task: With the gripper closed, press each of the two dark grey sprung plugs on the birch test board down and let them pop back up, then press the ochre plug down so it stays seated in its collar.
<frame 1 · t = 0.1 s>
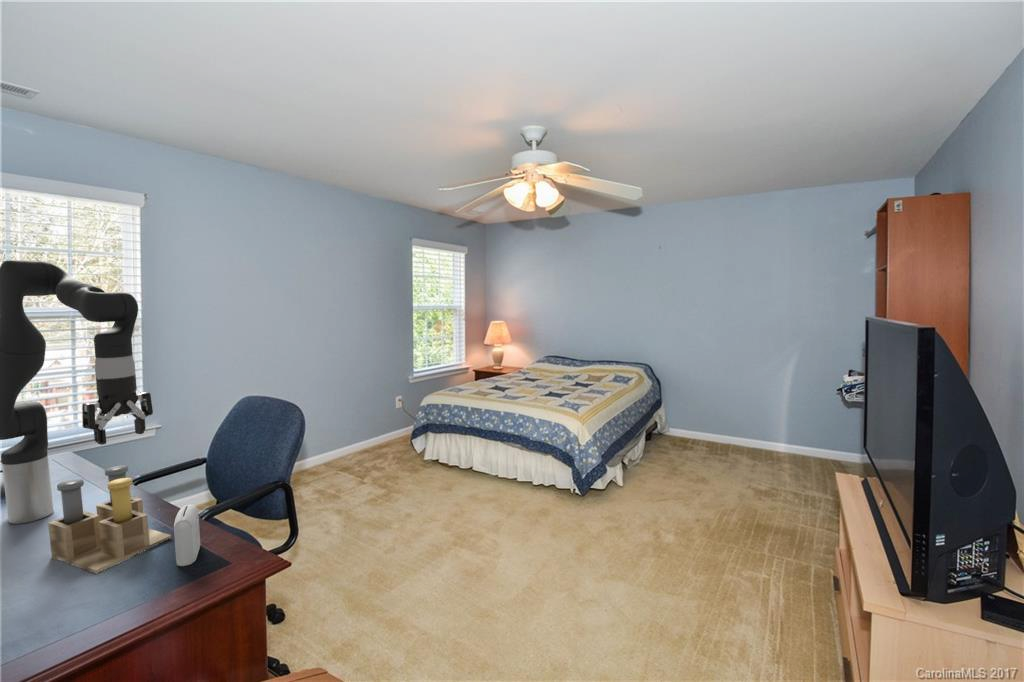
hand: (121, 438, 118), 29 cm above the table, tool pointing down, fingers open, 8 cm apart
grey plug 2: (72, 502, 118), point 13 cm above the table, slide at 0.1 cm
test board: (113, 547, 122), on the table
ochre plug: (121, 500, 119), point 14 cm above the table, slide at 0.0 cm
grey plug 1: (118, 486, 127), point 13 cm above the table, slide at 0.1 cm
photo printer: (189, 556, 119), on the table
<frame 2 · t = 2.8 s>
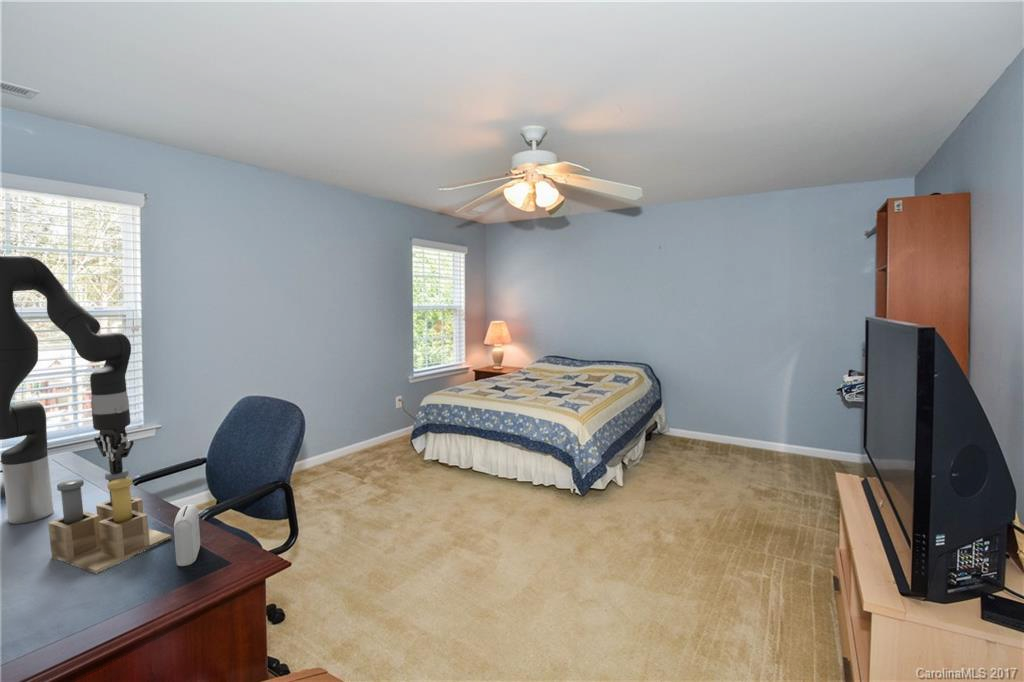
hand: (116, 472, 127), 17 cm above the table, tool pointing down, fingers closed
grey plug 1: (118, 490, 127), point 12 cm above the table, slide at 1.3 cm, touching gripper
everything else where it was.
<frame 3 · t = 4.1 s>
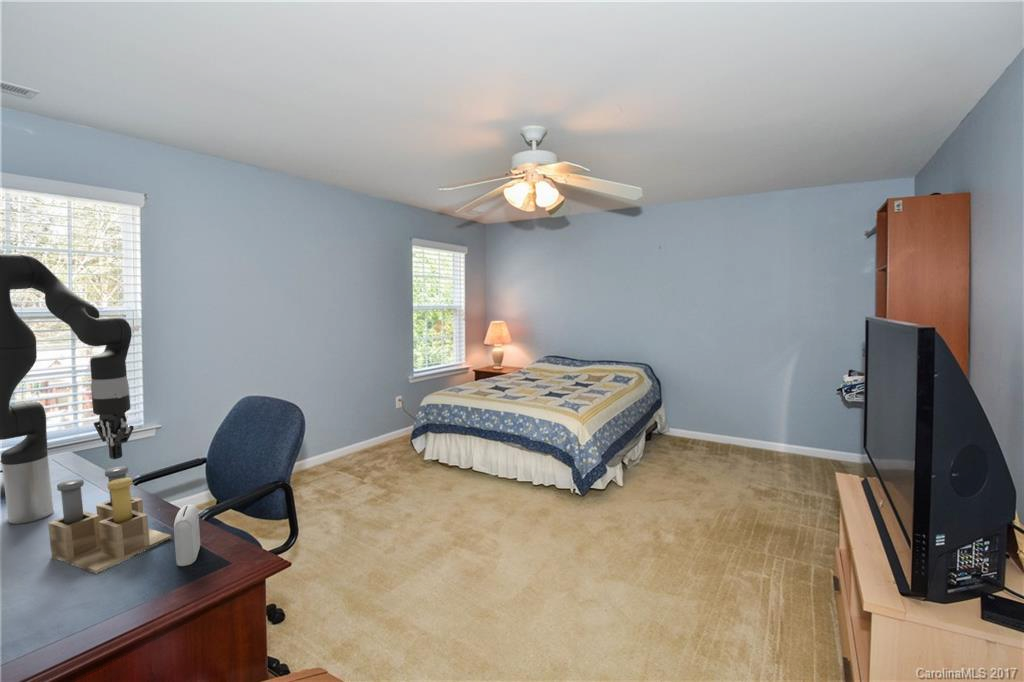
hand: (116, 458, 126), 21 cm above the table, tool pointing down, fingers closed
grey plug 1: (118, 487, 127), point 13 cm above the table, slide at 0.4 cm
everything else where it was.
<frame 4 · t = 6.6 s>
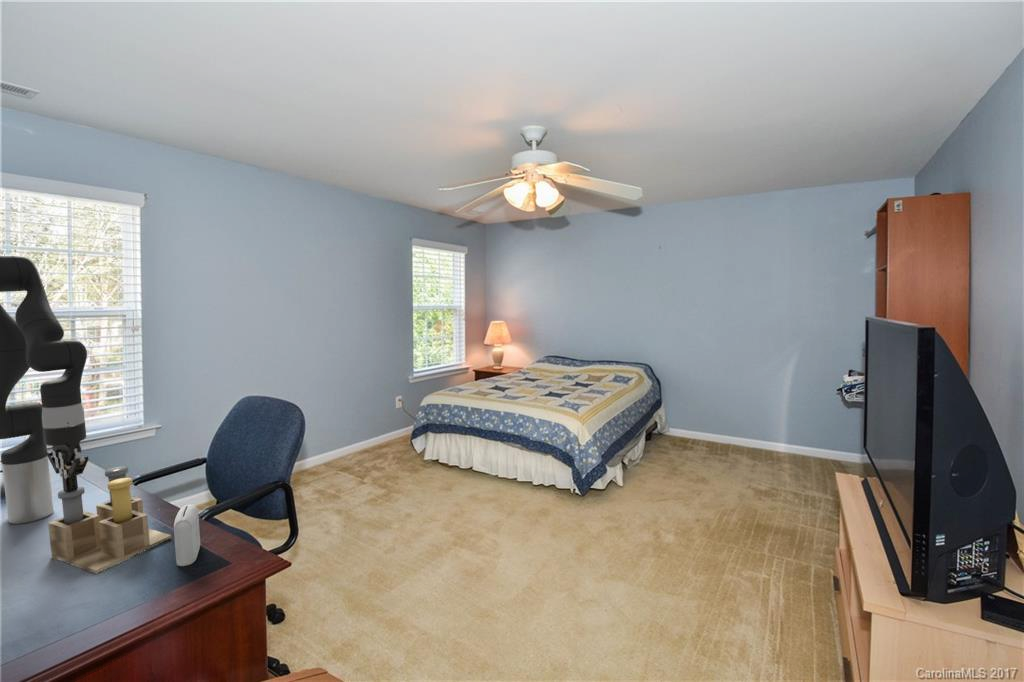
hand: (71, 490, 118), 16 cm above the table, tool pointing down, fingers closed
grey plug 2: (73, 510, 118), point 11 cm above the table, slide at 2.2 cm, touching gripper
everything else where it was.
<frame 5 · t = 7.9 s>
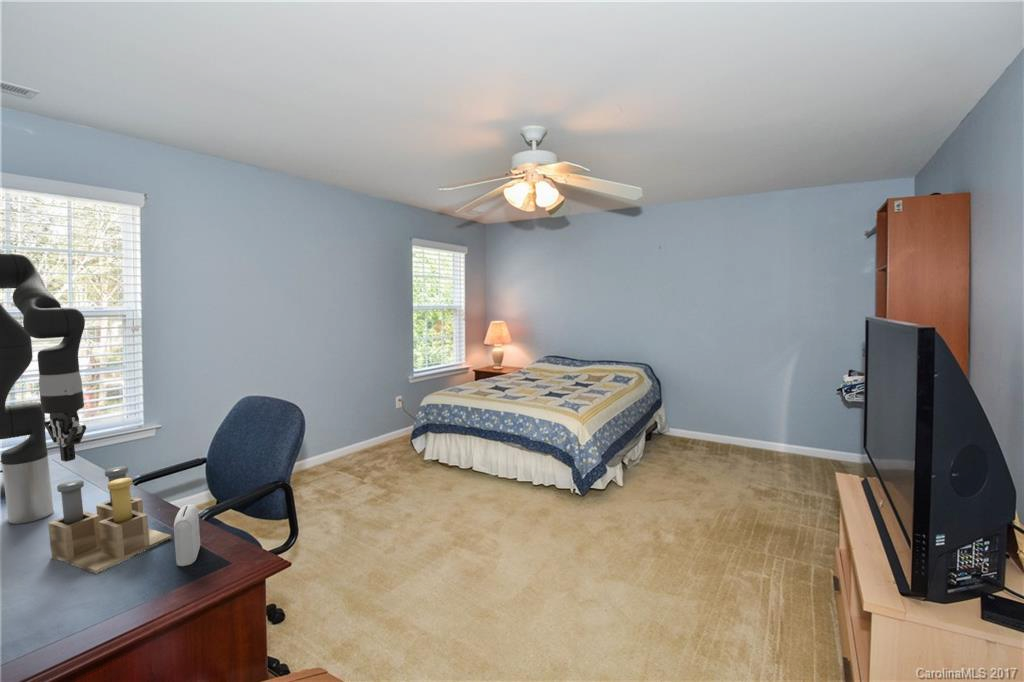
hand: (68, 460, 117), 24 cm above the table, tool pointing down, fingers closed
grey plug 2: (72, 503, 118), point 13 cm above the table, slide at 0.4 cm
everything else where it was.
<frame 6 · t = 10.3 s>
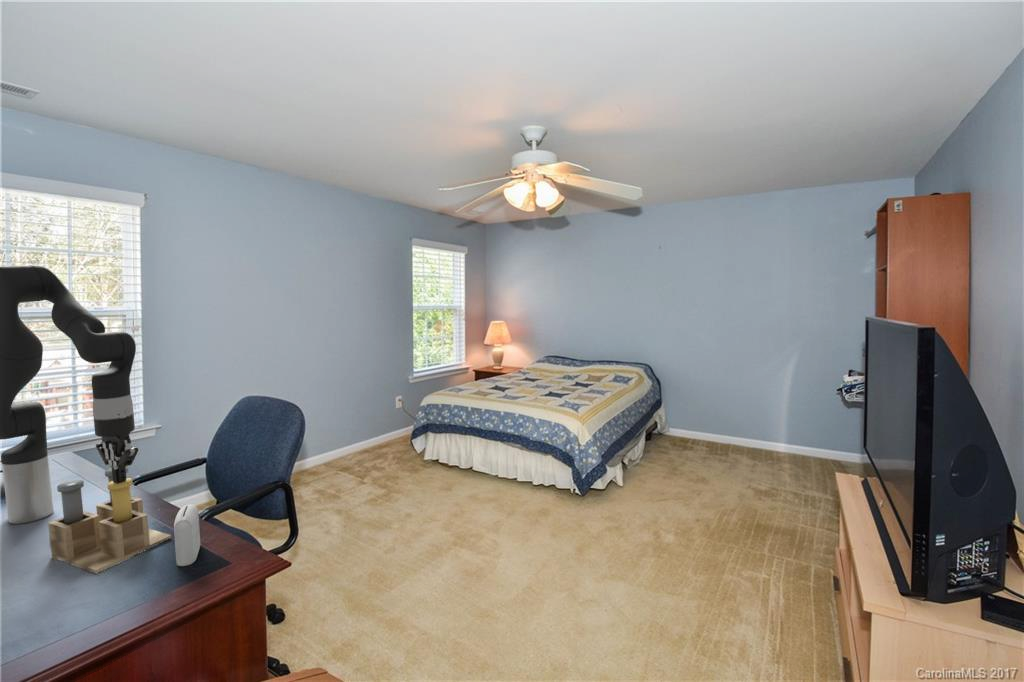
hand: (119, 482, 118), 18 cm above the table, tool pointing down, fingers closed
ochre plug: (121, 501, 119), point 13 cm above the table, slide at 0.1 cm, touching gripper
everything else where it was.
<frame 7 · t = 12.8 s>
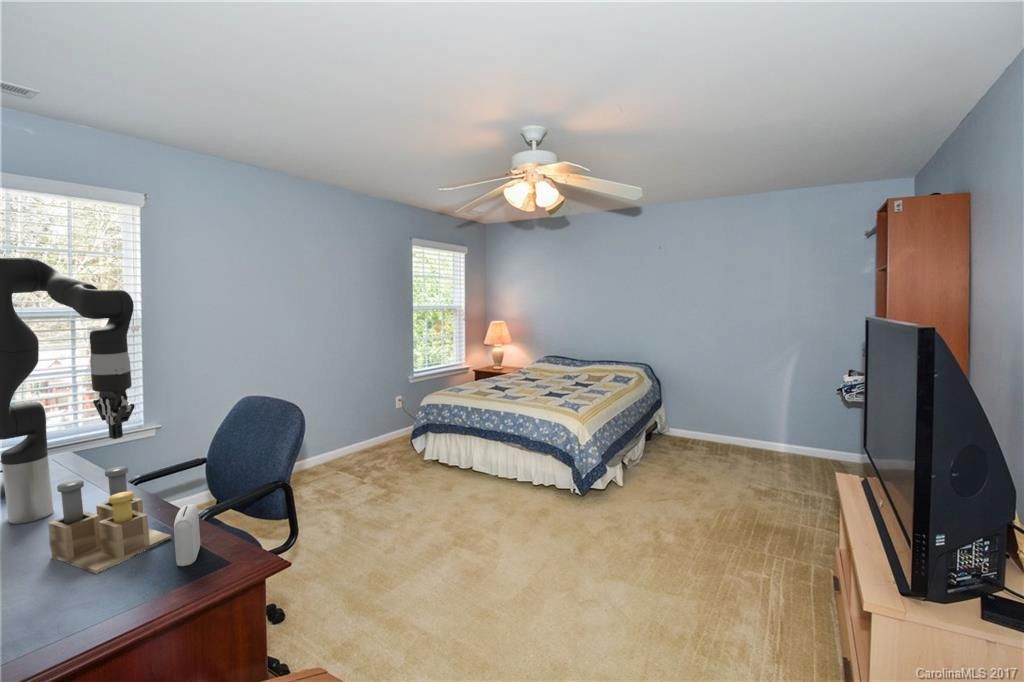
hand: (116, 437, 120), 29 cm above the table, tool pointing down, fingers closed
ochre plug: (122, 514, 119), point 10 cm above the table, slide at 3.6 cm
everything else where it was.
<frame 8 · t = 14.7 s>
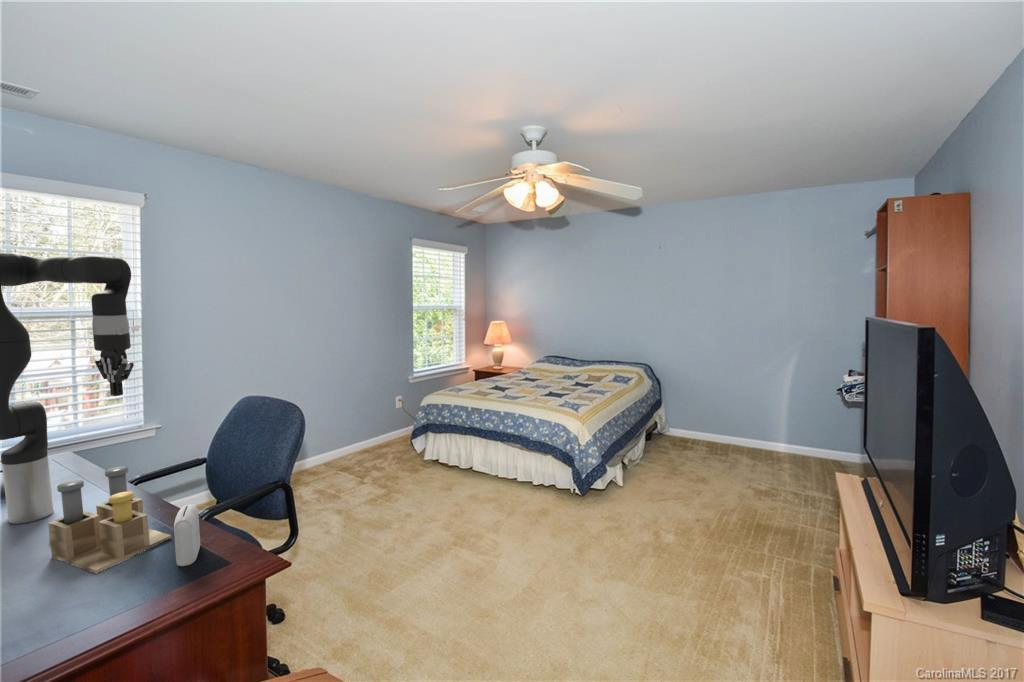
hand: (117, 395, 130), 37 cm above the table, tool pointing down, fingers closed
nothing on the table moved.
at the end: ochre plug slide at 3.6 cm; grey plug 1 slide at 0.4 cm; grey plug 2 slide at 0.4 cm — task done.
